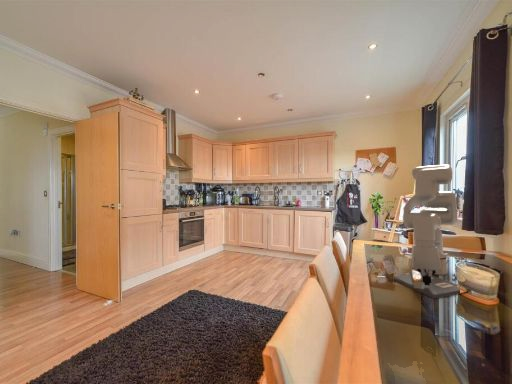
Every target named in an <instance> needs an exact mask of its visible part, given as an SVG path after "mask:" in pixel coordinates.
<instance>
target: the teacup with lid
mask: <svg viewBox="0 0 512 384" xmlns="http://www.w3.org/2000/svg"><path fill="white" fill-rule="evenodd" d="M439 256H440V264H441V271H442V272H441V273H435V274H434V275H436V276H437V275H438V276H444V275H446V274H447V273H448V270H447V269H448V268H447V263H446V260H447V257H446V256H445V255H443V254H441V253H439ZM425 271H426V273H427V272H428V270H426V269H425Z"/></svg>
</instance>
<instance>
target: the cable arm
mask: <svg viewBox="0 0 512 384" xmlns="http://www.w3.org/2000/svg"><path fill="white" fill-rule="evenodd" d="M410 268H411V267H410ZM410 272H411V274H412V276H413V285H414V288H420V289H422V279H421V275H420V273H419V272H418V271H415V270H412V268H411V271H410Z"/></svg>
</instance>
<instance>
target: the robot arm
mask: <svg viewBox="0 0 512 384" xmlns="http://www.w3.org/2000/svg"><path fill="white" fill-rule="evenodd" d="M411 174H412V177H413V179H414V182H415V185H414V195H412V197H410V198H409V199H408V200H407V201H406V203H405V205H404V207H403V213H402V214H403V216H402V217H403V218H402V222H403V225H404V226H405V227H406V228H408V229H413V242H414V243H413V244H412V245H411V256H410V257H411V260H410V261H411V267H410V268H412V270H415V271H418V272H419V273H420V274H421V275H422V281H423V282H424V284H425V285H428V286H430V284H429V283H431V276H432V275H433V276H434V275H436V274H435V273H441V272H442V271H441V264H440V256H439V253H441V254H443V255H445V256H446V257H450V254H449V253H444V244H443V243H444V242H443V233H442V232H443V231H442V230H441V229H440V226H454V225H456V224H457V223H458V207H457V206H458V205H457V197H456V194H455V193H454V192H453V191H448V190H444V191H440V190H439V186H440V185H449V184H451V183H452V181H453V168H452V167H451V165H450V164H436V165H424V166H417V167H414V168H413V169H412V171H411ZM420 205H422V207H424V209H421V210H420V212H412V210H413V209H414V208H416V207H417V206H420ZM447 263H448V261H447V259H446V264H447ZM426 270H428V272H427V271H426ZM425 271H426V272H425ZM425 273H427V275H426V274H425Z"/></svg>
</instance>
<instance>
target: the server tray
mask: <svg viewBox="0 0 512 384" xmlns="http://www.w3.org/2000/svg"><path fill="white" fill-rule="evenodd" d="M425 274H426V275H427V272H425ZM420 275H421V274H420ZM421 279H422V275H421ZM393 281H396V282H398V283H400V284H402V285H404V286H406V287H408V288H411V289H413V290H415V291H417V292H419V293H422V294H424V295H426V296H428V297H430V298H432V299H440V298H443V297H449V296H450V297H451V296H454V295H460V294H459V293H460V289H459V288H458V287H457V285H458V284H456V283H454V282H452V281H448V280H445V279H443V278H440V277H437V276H435V275H434V274H433V275H432V276H431V283H429V284H430V286H428V285H425V284H424V282H423V281H422V289H420V288H414V285H413V276H412V273H408V274H407V273H406V274H401V275H395V276H393Z"/></svg>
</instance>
